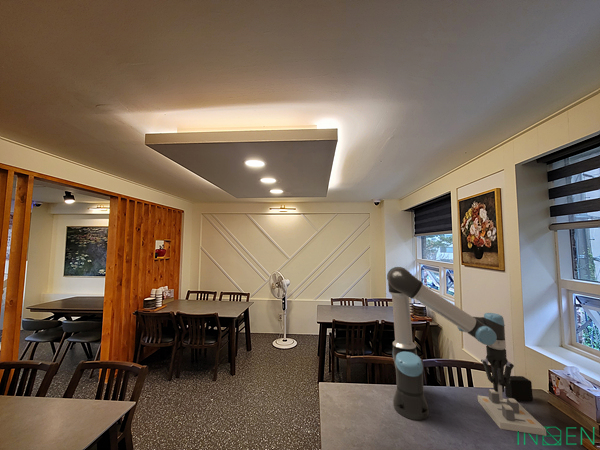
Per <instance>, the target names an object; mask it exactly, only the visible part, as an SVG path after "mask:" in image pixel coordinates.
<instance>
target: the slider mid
mask: <svg viewBox="0 0 600 450" xmlns="http://www.w3.org/2000/svg"><path fill="white" fill-rule="evenodd" d="M506 399H507V405H509V406H510V407H511V408H512V409H513V410H514V413H519V404H520V403H519V402H518V403H519V404H518V403H517V401H516V400H515V399H513V398H508V397H507V398H506ZM519 414H520V413H519Z"/></svg>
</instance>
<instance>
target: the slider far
mask: <svg viewBox="0 0 600 450" xmlns="http://www.w3.org/2000/svg"><path fill="white" fill-rule="evenodd" d="M487 392H488V397H489V399H490V400H491V401H492V402H493V403H500V400H499V394H498V392H496V391H495V390H494V389H491V388H489V389H488V391H487Z"/></svg>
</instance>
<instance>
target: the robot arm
mask: <svg viewBox="0 0 600 450" xmlns="http://www.w3.org/2000/svg"><path fill="white" fill-rule="evenodd" d="M386 280H387V282H388V285H387V286H388V293H389V294H390V295H391V299H392V311H393V329H394V341H392V354H391V355H392V359H393V362H394V367H395V375H396V388H395V393H394V396H393V399H392V403H393V404H392V406H393V408H394V410H395V411H396V412H397V413H398V414H400V415H401V416H402V417H405V418H407V419H410V420H414V421H421V420H425V419H427V418H428V417H429V414H430V413H429V412H430V411H429V406H428V403H427V400H426V397H425V394H424V365H423V360H422V359H421V357H420V356H419V355H418V354H417V344H416V343H415V342H413V331H412V330H413V329H412V318H411V307H410V303H411V302H410V299H412V300H414V299H415V300H417V301H418V302H419V303H421V304H423V305H424V306H425V307H427V308H429V309H431V310H432V311H434V313H436V314H438V315H439V316H441V317H443V319H446V320H447V321H449V322H450V323H452V324H453V325H455V326H456V327H457V329H458V331H460V332H461V333H462V332H463V333H467V334H468V335H469V336H471V337H473V338H474V339H475V340H476V341H477V342H479V343H481V344H482V345H485V347H486V357H485V359H481V360H480V362H481V363H482V365H483V367H484V371H485V374H486V377H487V380H488V381H489V382H490V383H491V384H493V385H492V386H493V389H494V390H495V391H496V392H498V394H499V400H502V401H503V399H504V396H503V393H505V385H506V384H507V385H508V384H509V380H510V376H512V370H513V368H514V366H515V365H514V364H513V363H511V362H510V361H508V359H507V345H506V330H505V326H506V325H505V320H504V316H503V315H501V314H499V313H494V312H485V313H484V314H483V316H472V315H470V314H469V313H467V312H466V311H465V310H463V309H461V308H459V307H458V306H456V305H455V304H453V303H451V302H450V301H448V300H447V299H445V298H444V297H442V296H441V295H439V294H437V293H436V292H434V291H433V290H431V289H429V288H428V287H426V286H425V285H424V282H423V281H421V280H420V279H418V278H416V277H415V276H414V274H412V273H411V272H410V271H409V270H407V268H405V267H402V266H394V267H391V269H389V270H388V272H387V274H386ZM489 364H490V367H491V370H490V367H489Z"/></svg>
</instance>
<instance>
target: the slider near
mask: <svg viewBox="0 0 600 450" xmlns="http://www.w3.org/2000/svg"><path fill="white" fill-rule="evenodd" d="M502 415H503V416H504V417H505V419H506V420H511V421H515V415H514V410H513V409H512V408H511V407H510V406H509V405H502Z"/></svg>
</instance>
